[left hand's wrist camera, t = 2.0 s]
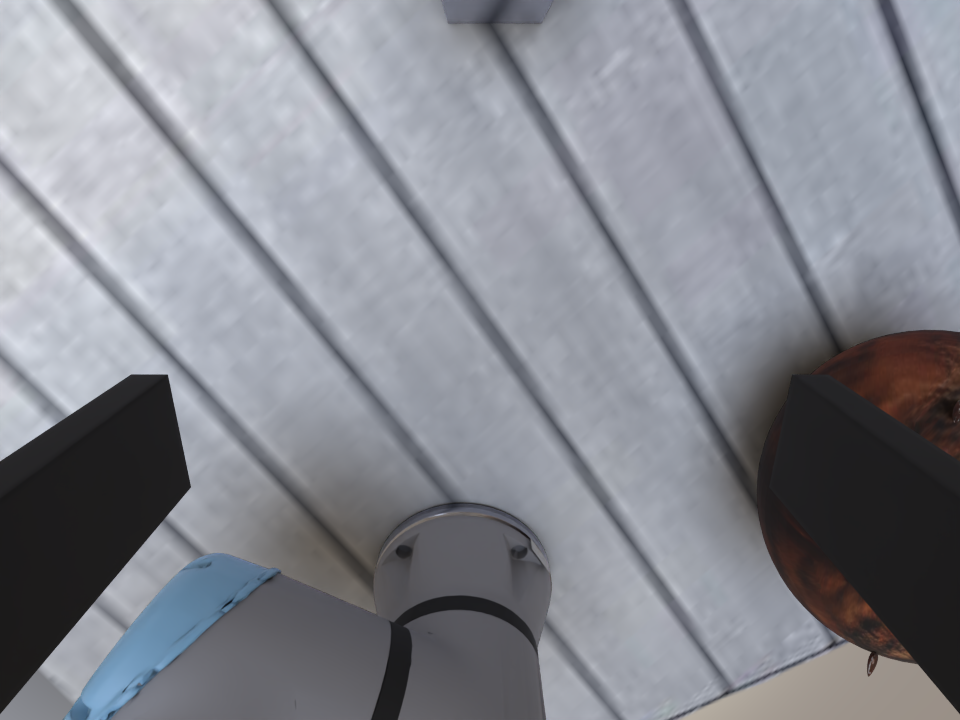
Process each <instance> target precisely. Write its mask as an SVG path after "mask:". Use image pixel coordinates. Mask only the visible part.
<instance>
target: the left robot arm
mask: <svg viewBox="0 0 960 720" xmlns="http://www.w3.org/2000/svg"><path fill="white" fill-rule="evenodd" d="M190 488H191V485H190V480H189V475H188V470H187V466H186V461H185V456H184V451H183V446H182V441H181V437H180V432H179V427H178V422H177V417H176V412H175V407H174V403H173V398H172V393H171V388H170V383H169V378H168V375H130V376H128V377H127V378H125V379H124V380H122V381H121V382H119V383H118V384H116V385H115V386H113V387H112V388H110V389H109V390H107V391H106V392H104V393H103V394H101V395H100V396H98V397H97V398H95V399H94V400H92V401H91V402H89V403H88V404H86V405H85V406H83V407H82V408H80V409H79V410H77V411H76V412H74V413H73V414H71V415H70V416H68V417H67V418H65V419H64V420H62V421H61V422H59V423H58V424H56V425H54V426H53V427H51V428H50V429H48V430H47V431H45V432H44V433H42V434H41V435H39V436H38V437H36V438H35V439H33V440H32V441H30V442H29V443H27V444H26V445H24V446H23V447H21V448H20V449H18V450H17V451H15V452H14V453H12V454H11V455H9V456H8V457H6V458H5V459H3V460H2V461H0V713H1V712H2V711H3V710H4V709H5V708H6V706H7V705H8V704H9V703H10V702H11V700H12V699H13V698H14V697H15V696H16V695H17V693H18V692H19V691H20V690H21V689H22V687H23V686H24V685H25V684H26V683H27V681H28V680H29V679H30V678H31V677H32V675H33V674H34V673H35V672H36V671H37V670H38V668H39V667H40V666H41V665H42V664H43V662H44V661H45V660H46V659H47V658H48V657H49V655H50V654H51V653H52V652H53V651H54V649H55V648H56V647H57V646H58V645H59V643H60V642H61V641H62V640H63V639H64V637H65V636H66V635H67V634H68V633H69V632H70V630H71V629H72V628H73V627H74V626H75V624H76V623H77V622H78V621H79V620H80V618H81V617H82V616H83V615H84V614H85V613H86V611H87V610H88V609H89V608H90V607H91V605H92V604H93V603H94V602H95V601H96V599H97V598H98V597H99V596H100V595H101V594H102V592H103V591H104V590H105V589H106V588H107V586H108V585H109V584H110V583H111V582H112V580H113V579H114V578H115V577H116V576H117V574H118V573H119V572H120V571H121V570H122V569H123V567H124V566H125V565H126V564H127V563H128V561H129V560H130V559H131V558H132V557H133V555H134V554H135V553H136V552H137V551H138V550H139V548H140V547H141V546H142V545H143V544H144V542H145V541H146V540H147V539H148V538H149V536H150V535H151V534H152V533H153V532H154V531H155V529H156V528H157V527H158V526H159V525H160V523H161V522H162V521H163V520H164V519H165V517H166V516H167V515H168V514H169V513H170V511H171V510H172V509H173V508H174V507H175V506H176V504H177V503H178V502H179V501H180V500H181V498H182V497H183V496H184V495H185V494H186V492H187V491H188V490H189V489H190ZM769 488H770V489H771V490H772V491H773V492H774V494H775V495H776V496H777V497H778V498H779V500H780V501H781V502H782V503H783V504H784V506H785V507H786V508H787V509H788V510H789V511H790V513H791V514H792V515H793V516H794V517H795V519H796V520H797V521H798V522H799V523H800V525H801V526H802V527H803V528H804V529H805V531H806V532H807V533H808V534H809V535H810V536H811V538H812V539H813V540H814V541H815V542H816V544H817V545H818V546H819V547H820V548H821V550H822V551H823V552H824V553H825V554H826V555H827V557H828V558H829V559H830V560H831V561H832V563H833V564H834V565H835V566H836V567H837V569H838V570H839V571H840V572H841V573H842V574H843V576H844V577H845V578H846V579H847V580H848V582H849V583H850V584H851V585H852V586H853V588H854V589H855V590H856V591H857V592H858V594H859V595H860V596H861V597H862V598H863V599H864V601H865V602H866V603H867V604H868V605H869V607H870V608H871V609H872V610H873V611H874V613H875V614H876V615H877V616H878V617H879V618H880V620H881V621H882V622H883V623H884V624H885V626H886V627H887V628H888V629H889V630H890V632H891V633H892V634H893V635H894V636H895V637H896V639H897V640H898V641H899V642H900V643H901V645H902V646H903V647H904V648H905V649H906V651H907V652H908V653H909V654H910V655H911V657H912V658H913V659H914V660H915V661H916V662H917V664H918V665H919V666H920V667H921V668H922V669H923V671H924V672H925V673H926V674H927V676H928V677H929V678H930V679H931V680H932V681H933V683H934V684H935V685H936V686H937V687H938V688H939V690H940V691H941V692H942V693H943V695H944V696H945V697H946V698H947V699H948V700H949V702H950V703H951V704H952V705H953V706H954V708H955V709H956V710H957V711H958V712H959V714H960V461H958V460H957V459H955V458H954V457H952V456H951V455H949V454H948V453H946V452H945V451H943V450H942V449H940V448H939V447H937V446H936V445H934V444H933V443H931V442H930V441H928V440H927V439H925V438H924V437H922V436H921V435H919V434H918V433H916V432H915V431H913V430H912V429H910V428H909V427H907V426H906V425H904V424H902V423H901V422H899V421H898V420H896V419H895V418H893V417H892V416H890V415H889V414H887V413H886V412H884V411H883V410H881V409H880V408H878V407H877V406H875V405H874V404H872V403H871V402H869V401H868V400H866V399H865V398H863V397H862V396H860V395H859V394H857V393H856V392H854V391H853V390H851V389H850V388H848V387H847V386H845V385H844V384H842V383H841V382H839V381H838V380H836V379H835V378H833V377H832V376H830V375H792V378H791V383H790V388H789V393H788V398H787V403H786V407H785V412H784V417H783V422H782V427H781V432H780V437H779V441H778V446H777V451H776V456H775V461H774V466H773V470H772V475H771V480H770V485H769ZM373 590H374V600H375V605H376V610H377V615H376V614H373V613H371V612H369V611H366V610H364V609H362V608H359V607H357V606H355V605H352V604H350V603H348V602H345V601H343V600H341V599H338V598H336V597H334V596H331V595H329V594H327V593H324V592H322V591H319V590H317V589H315V588H312V587H310V586H308V585H305V584H303V583H301V582H298V581H296V580H294V579H291V578H289V577H287V576H284V575H282V574H281V570H279V569H277V568H271V569H267V568H264V567H262V566H259V565H256V564H253V563H251V562H248V561H245V560H242V559H240V558H237V557H234V556H231V555H228V554H223V553H213V554H208V555H205V556H202V557H200V558H198V559H196V560H194V561H193V562H191V563H190V564H188V565H187V566H186V567H184V568H183V569H182V570H181V571H180V572H179V573H178V574H177V575H176V576H175V577H174V578H172V579H171V580H170V582H169V583H168V584H167V585H166V586H165V587H164V588H163V589H162V590H161V591H160V592H159V593H158V594H157V595H156V597H155V598H154V599H153V600H152V601H151V602H150V604H149V605H148V606H147V607H146V608H145V609H144V610H143V612H142V613H141V614H140V615H139V616H138V618H137V619H136V620H135V621H134V622H133V624H132V625H131V626H130V627H129V629H128V630H127V631H126V632H125V634H124V635H123V636H122V637H121V639H120V640H119V641H118V642H117V644H116V645H115V646H114V648H113V649H112V650H111V652H110V653H109V654H108V655H107V657H106V658H105V659H104V661H103V662H102V663H101V665H100V666H99V667H98V669H97V670H96V671H95V673H94V674H93V676H92V677H91V679H90V680H89V682H88V683H87V684H86V686H85V687H84V689H83V691H82V693H81V696H80V697H79V698H78V700H77V701H76V702H75V704H74V705H73V707H72V709H71V710H70V711H69V712H68V714H67V715H66V716H65V717H64V719H63V720H546V716H545V708H544V700H543V692H542V683H541V675H540V667H539V659H538V649H537V648H538V644H539V640H540V637H541V633H542V629H543V626H544V622H545V619H546V615H547V611H548V608H549V604H550V598H551V590H552V582H551V575H550V568H549V563H548V559H547V555H546V553H545V550H544V548H543V546H542V544H541V543H540V541H539V540H538V538H537V537H536V536H535V535H534V533H533V532H532V531H531V530H530V529H529V528H528V527H527V526H526V525H524V524H523V523H522V522H520V521H519V520H517V519H516V518H514V517H513V516H511V515H509V514H507V513H505V512H502V511H500V510H497V509H494V508H491V507H487V506H483V505H476V504H463V503H461V504H448V505H442V506H437V507H433V508H430V509H427V510H424V511H422V512H419V513H417V514H416V515H414V516H412V517H410V518H409V519H407V520H405V521H404V522H403V523H402V524H400V525H399V526H398V527H397V528H396V529H395V530H394V531H393V532H392V533H391V534H390V536H389V537H388V538H387V540H386V541H385V543H384V545H383V547H382V549H381V551H380V554H379V557H378V561H377V565H376V569H375V573H374V580H373Z"/></svg>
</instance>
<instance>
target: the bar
mask: <svg viewBox="0 0 960 720" xmlns="http://www.w3.org/2000/svg"><path fill="white" fill-rule="evenodd" d="M552 2H553V0H442V3H443V7H444V11H445V15H446V18H447V22H448V23H542V22H543V20H544V18H545V16H546V14H547V12H548V10H549V8H550V6H551V4H552Z"/></svg>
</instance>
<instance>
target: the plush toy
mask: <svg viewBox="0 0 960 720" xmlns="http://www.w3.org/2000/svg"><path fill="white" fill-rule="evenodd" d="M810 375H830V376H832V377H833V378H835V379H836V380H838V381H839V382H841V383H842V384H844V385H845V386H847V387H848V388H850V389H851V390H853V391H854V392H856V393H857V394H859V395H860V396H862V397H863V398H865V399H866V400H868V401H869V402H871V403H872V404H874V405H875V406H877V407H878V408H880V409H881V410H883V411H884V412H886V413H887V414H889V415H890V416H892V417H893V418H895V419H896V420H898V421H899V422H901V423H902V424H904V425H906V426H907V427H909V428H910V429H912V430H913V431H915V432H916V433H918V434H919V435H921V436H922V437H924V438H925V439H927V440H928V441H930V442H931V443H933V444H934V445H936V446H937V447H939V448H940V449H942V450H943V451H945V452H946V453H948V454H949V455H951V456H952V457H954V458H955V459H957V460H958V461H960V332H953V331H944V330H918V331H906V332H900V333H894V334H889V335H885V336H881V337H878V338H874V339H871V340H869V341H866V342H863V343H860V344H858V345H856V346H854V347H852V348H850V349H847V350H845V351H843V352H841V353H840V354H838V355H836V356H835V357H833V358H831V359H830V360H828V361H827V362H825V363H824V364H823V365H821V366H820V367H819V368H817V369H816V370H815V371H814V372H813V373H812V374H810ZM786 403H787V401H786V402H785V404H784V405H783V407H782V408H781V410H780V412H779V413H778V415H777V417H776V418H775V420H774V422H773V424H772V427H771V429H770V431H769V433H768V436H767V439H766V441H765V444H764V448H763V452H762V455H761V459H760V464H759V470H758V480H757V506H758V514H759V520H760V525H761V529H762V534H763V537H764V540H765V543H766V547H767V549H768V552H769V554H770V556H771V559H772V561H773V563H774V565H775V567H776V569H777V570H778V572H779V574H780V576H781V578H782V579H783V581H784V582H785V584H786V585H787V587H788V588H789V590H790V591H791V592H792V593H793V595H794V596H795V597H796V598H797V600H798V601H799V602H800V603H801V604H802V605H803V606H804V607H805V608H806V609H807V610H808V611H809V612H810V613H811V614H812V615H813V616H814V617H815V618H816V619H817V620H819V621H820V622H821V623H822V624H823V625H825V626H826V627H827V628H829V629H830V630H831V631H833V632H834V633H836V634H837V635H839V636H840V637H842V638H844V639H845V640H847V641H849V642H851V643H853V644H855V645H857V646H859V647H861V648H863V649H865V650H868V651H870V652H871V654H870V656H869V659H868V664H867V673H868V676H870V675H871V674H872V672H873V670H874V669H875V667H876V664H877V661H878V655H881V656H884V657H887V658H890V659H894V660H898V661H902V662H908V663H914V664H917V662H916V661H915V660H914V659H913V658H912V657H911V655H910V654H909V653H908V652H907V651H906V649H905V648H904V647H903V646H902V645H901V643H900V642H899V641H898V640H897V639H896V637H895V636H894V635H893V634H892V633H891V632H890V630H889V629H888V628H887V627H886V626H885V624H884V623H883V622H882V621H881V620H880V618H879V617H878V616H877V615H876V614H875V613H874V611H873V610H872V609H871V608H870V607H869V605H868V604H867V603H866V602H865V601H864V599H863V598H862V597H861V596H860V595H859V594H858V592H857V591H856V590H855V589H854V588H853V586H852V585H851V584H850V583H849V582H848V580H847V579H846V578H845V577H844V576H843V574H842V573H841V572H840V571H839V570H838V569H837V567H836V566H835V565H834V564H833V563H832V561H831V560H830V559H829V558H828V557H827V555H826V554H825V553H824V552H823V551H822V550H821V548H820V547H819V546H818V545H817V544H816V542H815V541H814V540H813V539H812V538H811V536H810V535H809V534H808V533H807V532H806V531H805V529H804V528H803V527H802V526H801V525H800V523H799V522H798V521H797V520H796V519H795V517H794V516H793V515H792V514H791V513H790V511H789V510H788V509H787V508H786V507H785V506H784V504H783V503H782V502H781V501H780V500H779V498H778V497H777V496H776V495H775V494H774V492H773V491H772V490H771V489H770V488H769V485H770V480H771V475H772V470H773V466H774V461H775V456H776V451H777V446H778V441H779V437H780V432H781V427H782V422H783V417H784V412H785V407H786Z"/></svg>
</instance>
